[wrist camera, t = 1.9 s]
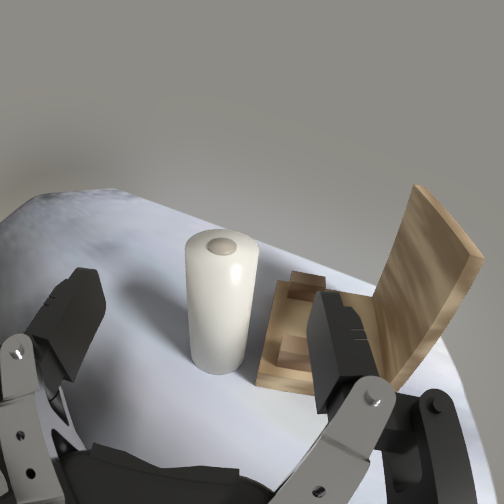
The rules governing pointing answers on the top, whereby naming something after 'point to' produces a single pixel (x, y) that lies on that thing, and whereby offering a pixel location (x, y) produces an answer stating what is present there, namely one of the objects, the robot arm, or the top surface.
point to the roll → (219, 297)
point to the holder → (381, 301)
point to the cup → (3, 484)
